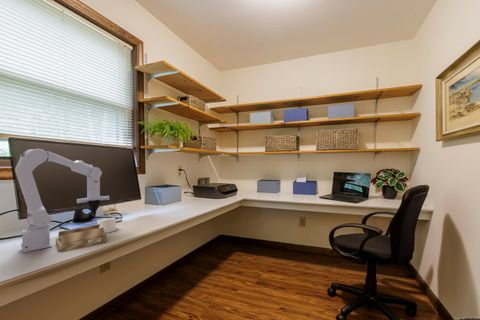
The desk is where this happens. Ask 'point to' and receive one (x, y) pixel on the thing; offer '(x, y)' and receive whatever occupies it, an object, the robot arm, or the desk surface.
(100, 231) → the flap near
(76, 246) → the carton
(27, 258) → the desk surface
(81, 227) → the flap far
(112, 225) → the bracket
